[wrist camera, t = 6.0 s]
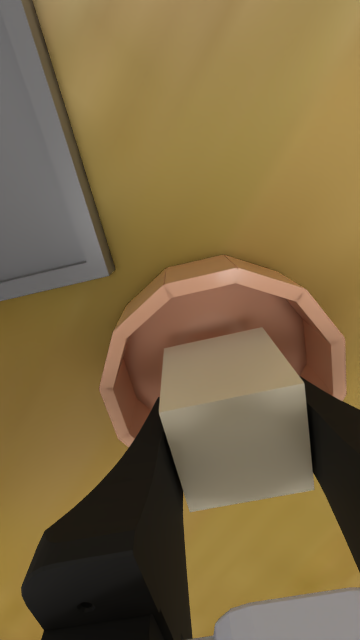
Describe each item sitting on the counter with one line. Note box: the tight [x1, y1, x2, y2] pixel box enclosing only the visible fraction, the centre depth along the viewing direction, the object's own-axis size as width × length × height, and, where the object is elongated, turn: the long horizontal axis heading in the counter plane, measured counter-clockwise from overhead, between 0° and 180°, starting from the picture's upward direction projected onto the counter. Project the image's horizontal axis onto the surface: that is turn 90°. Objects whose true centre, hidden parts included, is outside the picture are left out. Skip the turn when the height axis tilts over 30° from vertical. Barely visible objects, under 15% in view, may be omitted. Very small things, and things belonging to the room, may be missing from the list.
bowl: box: [99, 255, 346, 447], centre depth 15 cm, size 11×11×4 cm
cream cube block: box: [159, 327, 314, 512], centre depth 12 cm, size 4×4×4 cm
